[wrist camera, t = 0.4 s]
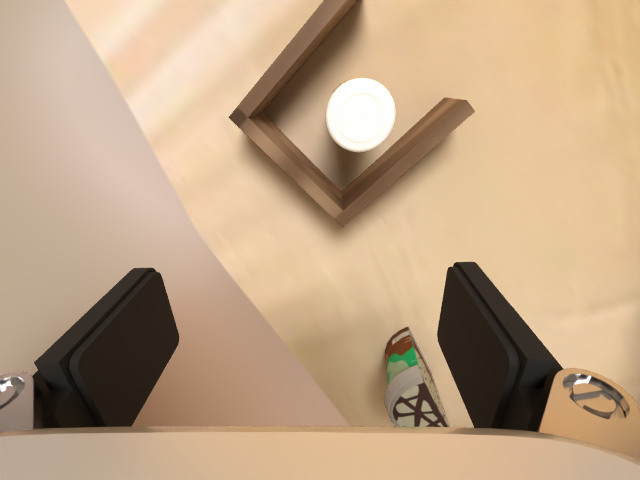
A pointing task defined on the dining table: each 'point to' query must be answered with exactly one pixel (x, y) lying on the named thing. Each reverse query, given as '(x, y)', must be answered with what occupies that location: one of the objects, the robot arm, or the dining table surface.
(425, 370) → the food container
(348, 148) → the spice jar
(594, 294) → the dining table surface
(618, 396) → the robot arm
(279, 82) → the shelf box
